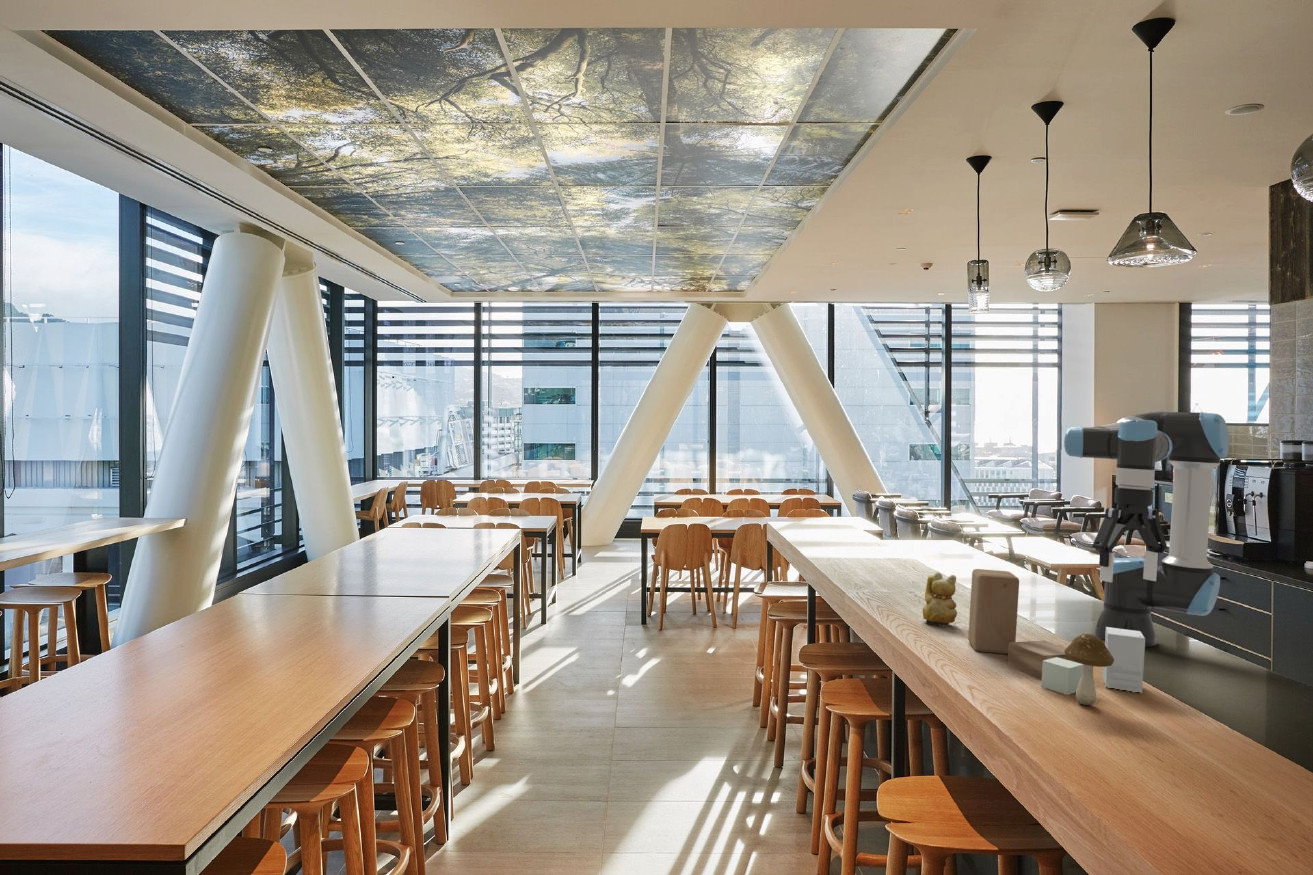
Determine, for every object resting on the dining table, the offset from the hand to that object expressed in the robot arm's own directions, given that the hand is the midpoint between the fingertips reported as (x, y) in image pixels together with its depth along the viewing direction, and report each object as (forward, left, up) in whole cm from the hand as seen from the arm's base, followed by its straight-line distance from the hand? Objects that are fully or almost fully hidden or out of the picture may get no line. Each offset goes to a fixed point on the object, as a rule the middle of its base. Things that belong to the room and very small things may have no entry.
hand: (1127, 580), depth 184 cm
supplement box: (0, 0, -25) cm, 25 cm away
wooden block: (+8, -32, -25) cm, 41 cm away
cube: (+16, -2, -25) cm, 29 cm away
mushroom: (+20, +8, -25) cm, 33 cm away
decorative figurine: (+5, -56, -25) cm, 61 cm away
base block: (+10, -13, -25) cm, 29 cm away
